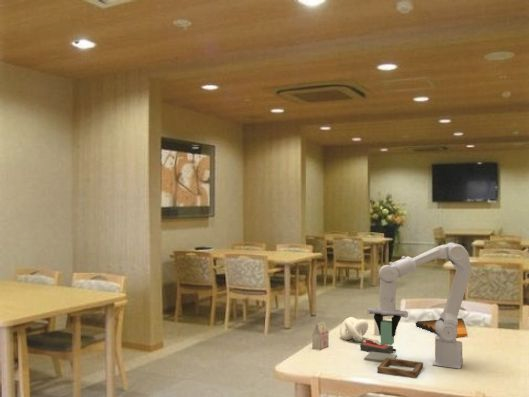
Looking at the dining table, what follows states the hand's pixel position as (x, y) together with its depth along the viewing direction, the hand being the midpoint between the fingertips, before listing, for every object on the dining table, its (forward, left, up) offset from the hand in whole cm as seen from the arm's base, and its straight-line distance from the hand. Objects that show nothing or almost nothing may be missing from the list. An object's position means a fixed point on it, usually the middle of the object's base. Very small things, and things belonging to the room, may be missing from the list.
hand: (387, 335), depth 204 cm
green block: (0, 0, -3) cm, 3 cm away
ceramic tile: (+3, -4, -10) cm, 11 cm away
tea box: (+29, -9, -10) cm, 32 cm away
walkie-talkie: (+10, -16, -10) cm, 21 cm away
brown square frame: (-7, +8, -10) cm, 14 cm away
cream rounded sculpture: (+20, -28, -10) cm, 36 cm away
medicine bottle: (+11, -43, -10) cm, 46 cm away
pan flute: (-15, -66, -11) cm, 69 cm away
